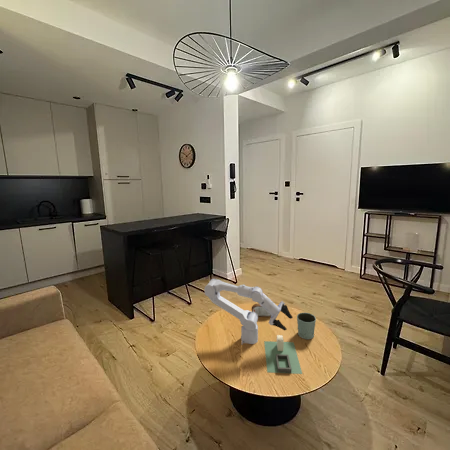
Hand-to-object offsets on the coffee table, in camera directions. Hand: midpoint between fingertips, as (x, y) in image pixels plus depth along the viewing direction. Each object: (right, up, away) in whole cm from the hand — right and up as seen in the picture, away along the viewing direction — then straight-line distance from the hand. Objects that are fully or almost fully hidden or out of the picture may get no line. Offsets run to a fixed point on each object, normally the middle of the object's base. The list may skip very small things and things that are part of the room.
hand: (288, 323), depth 130 cm
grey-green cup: (+13, -12, +11) cm, 21 cm away
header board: (-5, -15, -5) cm, 17 cm away
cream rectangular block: (-4, -13, +1) cm, 14 cm away
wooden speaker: (-8, -8, +33) cm, 35 cm away
